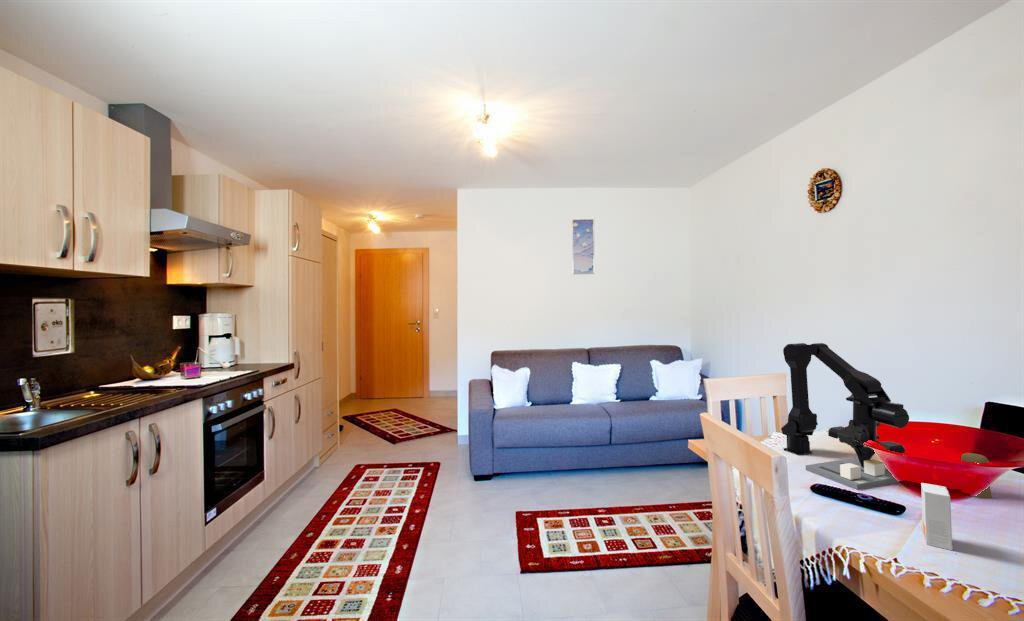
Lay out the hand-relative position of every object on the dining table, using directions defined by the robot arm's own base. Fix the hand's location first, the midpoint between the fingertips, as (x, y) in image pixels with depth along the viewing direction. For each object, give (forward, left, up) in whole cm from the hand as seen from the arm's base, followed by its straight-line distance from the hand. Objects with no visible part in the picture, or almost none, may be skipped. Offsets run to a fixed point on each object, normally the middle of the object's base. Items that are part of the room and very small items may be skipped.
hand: (863, 467), depth 131 cm
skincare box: (+32, -23, -3) cm, 39 cm away
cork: (+19, +15, -3) cm, 24 cm away
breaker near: (+3, -9, -1) cm, 9 cm away
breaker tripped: (+3, 0, -1) cm, 3 cm away
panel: (-1, 0, -3) cm, 3 cm away
